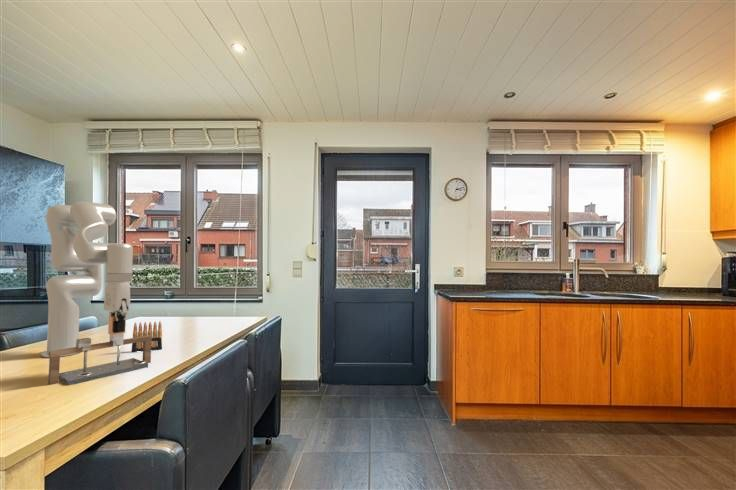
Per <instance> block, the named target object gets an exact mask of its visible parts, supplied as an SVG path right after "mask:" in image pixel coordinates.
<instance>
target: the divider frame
mask: <svg viewBox="0 0 736 490" xmlns="http://www.w3.org/2000/svg"><path fill="white" fill-rule="evenodd" d="M152 336H153V335H152ZM152 336H151V335H148V334H147V336H143V335H142V337H138V336H137V337H136V338H133V337H130V338H125V339H124V338H123V345H124V346H125V345H132V343H137V342H143V351H142V361H146V362H145V363H148V364H150V363H151V361H152V351H151V340H152ZM123 345H122V346H123ZM107 348H113V341H111V342H110V341H105V342H100V343H99V342H98V343H92V338H90V337H83V338H78V339H76V347H74V348H67V349H61V350H55V351H49V357H48V358H49V360H48V361H49V363H48V385H55V384H59V383H60V382H59V381H60V380H59V373H60V367H61V366H60V365H61V361H60V360H61V357H62V356H61V355H67V354H73V353H77V354H80V353H83V367H82V368H83V372H86V371H87V367H88V352H89V351H90V352H91V351H96V350H101V349H107ZM79 352H80V353H79ZM73 355H74V354H73ZM60 356H61V357H60Z"/></svg>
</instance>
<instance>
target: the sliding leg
mask: <svg viewBox="0 0 736 490" xmlns="http://www.w3.org/2000/svg"><path fill="white" fill-rule="evenodd" d="M126 320H127V319H125V326H126V325H127V324H126ZM114 321H115V315H114V316H108V332H107V334H108V335H109V342H111V341H113V347H117V348H116V350H117V351H116V362H117V365H120V361H121V346H123V339H124V335H125V333H126V330H125V331H124V332H119V333H114V332H113V328H114ZM113 347H112V348H113Z"/></svg>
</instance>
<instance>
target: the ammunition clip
mask: <svg viewBox="0 0 736 490" xmlns="http://www.w3.org/2000/svg"><path fill="white" fill-rule="evenodd" d="M157 325H158V326H157ZM152 327H153V328H152ZM162 327H163V326H162V321H161V320H159V322H158V324H157V322H156V321H154V322H153V325H152V321H149V323H148V324H147V322H146V321H144V323H143V324H142V322H139V324H138V325H137V322H134V324H133V329H132V330H133V331H132V338H136V337H142V336H148V335H151V336H152V340H151V350H152V351H159V350H162V349H163V329H162ZM137 351H141V352H143V342H137V343H131V353H138V352H137Z"/></svg>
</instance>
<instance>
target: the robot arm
mask: <svg viewBox="0 0 736 490" xmlns="http://www.w3.org/2000/svg"><path fill="white" fill-rule="evenodd" d="M116 220H117V212H116V210H115V208H114V207H113V206H112V205H110V204H108V203H106V204H105V203H101V202H99V203H98V202H91V201H77V202H74V203H73V204H70V205H69V204H54V205H52V206H49V207H48V209H47V211H46V214H45V223H46V226H47V229H48V233H49V234H50V239H51V241H50V242H51V244H50V246H51V247H50V248H51V249H50V251H51V267H52V269H53V270H54V271H56V272H64V273H65V272H76V273H77V272H84V274H62V275H61V274H60V275H54V276H52V277H51V278H49V279H48V280H47V282H46V285H45V287H46V289H45V290H46V293H47V300H48V301H47V302H48V309H47V310H48V312H47V332H46V333H47V334H46V337H47V338H46V350H44V351H43V352H41V353H40V356H41V357H42V358H50V357H49V351H55V350H61V349H67V348H74V347H76V339H79V334H80V307H79V305H78V303H76V302H75V300H73V299H77V298H88V297H95V296H98V295H99V294H100V292H101V290H102V284H103V283H102V265H105V280H104V281H105V282H104V283H105V284H106V286H105V291H104V299H103V311H106V312H109V314H108V315H109V316H114V315H115V321H114V328H113V332H114V333H119V332H124V331H125V332H126V325H125V319H126V318H127V315H128V311H129V310H130V308H131V285H130V284H131V283H132V282H133V257H134V255H133V254H134V253H133V252H134V247H133V245H131V244H130V243H123V242H122V243H119V242H117V243H115V242H113V243H112V242H111V243H109V242H92V241H95V240H98V239H102V237H104V236H105V235H107V233H108V232H109V226H111V225H113V224H114V223H115V221H116ZM71 227H76V228H78V231H76V232H75V231H74V230H73V229H72V228H71ZM109 316H108V317H109ZM126 320H127V319H126ZM80 353H81V352H79V353H73V354H67V355H61V356H60V358H62V357H68V356H71V355H72V356H73V355H76V354H80Z"/></svg>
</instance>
